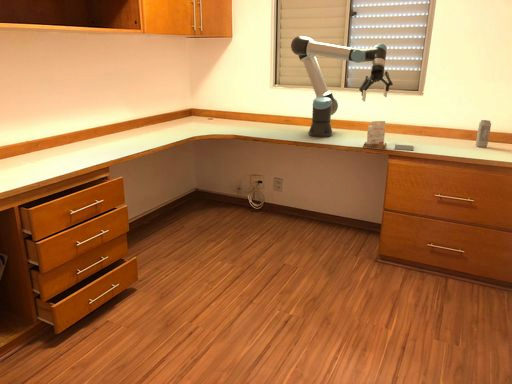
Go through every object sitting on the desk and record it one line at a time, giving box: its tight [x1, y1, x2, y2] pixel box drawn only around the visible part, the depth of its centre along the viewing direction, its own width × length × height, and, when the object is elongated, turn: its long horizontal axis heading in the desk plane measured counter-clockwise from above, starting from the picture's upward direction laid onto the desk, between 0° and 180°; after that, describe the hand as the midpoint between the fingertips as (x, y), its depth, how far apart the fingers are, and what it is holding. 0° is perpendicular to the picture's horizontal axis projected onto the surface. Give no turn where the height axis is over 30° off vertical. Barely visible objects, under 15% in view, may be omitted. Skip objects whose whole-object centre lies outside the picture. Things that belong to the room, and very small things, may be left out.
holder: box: [362, 141, 387, 150], centre depth 246 cm, size 12×13×2 cm
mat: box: [393, 143, 414, 152], centre depth 242 cm, size 10×12×1 cm
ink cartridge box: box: [366, 120, 386, 144], centre depth 244 cm, size 9×5×15 cm, turn 101°
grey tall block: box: [475, 119, 492, 149], centre depth 243 cm, size 6×6×15 cm
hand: (374, 98), depth 252 cm, fingers open, 13 cm apart
